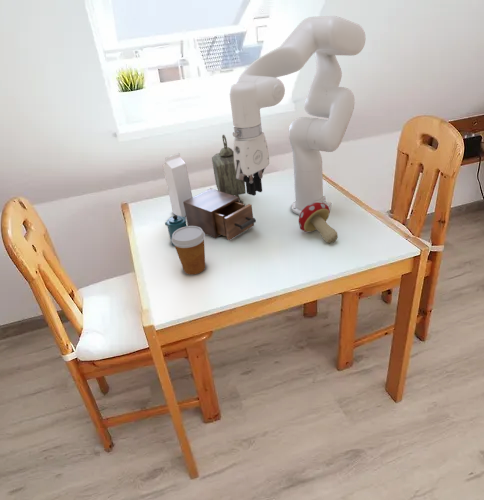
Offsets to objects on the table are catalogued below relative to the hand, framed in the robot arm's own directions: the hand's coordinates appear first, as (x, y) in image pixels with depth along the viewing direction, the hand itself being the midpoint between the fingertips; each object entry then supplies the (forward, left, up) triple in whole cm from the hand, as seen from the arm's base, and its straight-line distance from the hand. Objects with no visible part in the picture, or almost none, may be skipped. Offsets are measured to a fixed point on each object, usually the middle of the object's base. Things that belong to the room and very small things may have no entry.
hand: (254, 192), depth 129 cm
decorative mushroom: (-13, -13, -17) cm, 25 cm away
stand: (+21, 0, -17) cm, 27 cm away
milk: (+38, 0, -17) cm, 42 cm away
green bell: (+30, -17, -17) cm, 39 cm away
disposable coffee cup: (+6, +22, -17) cm, 29 cm away
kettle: (+22, +15, -17) cm, 31 cm away
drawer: (+12, 0, -16) cm, 20 cm away
